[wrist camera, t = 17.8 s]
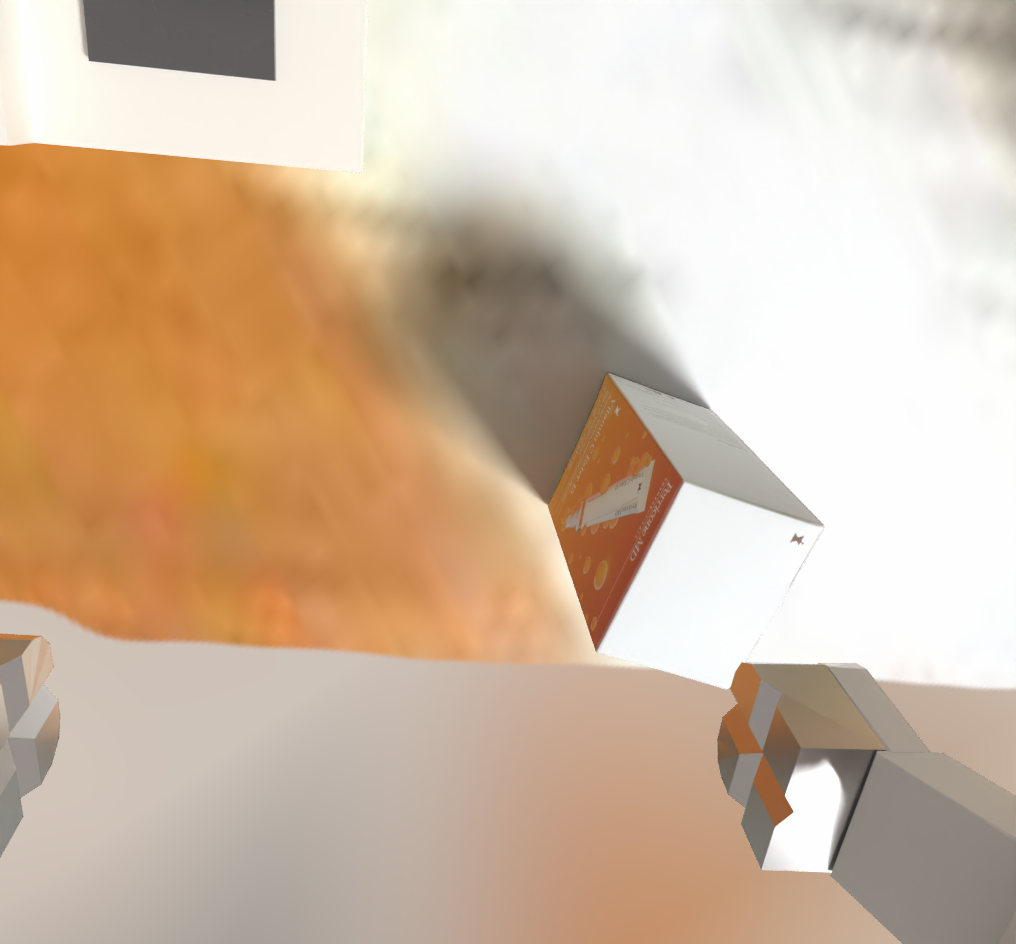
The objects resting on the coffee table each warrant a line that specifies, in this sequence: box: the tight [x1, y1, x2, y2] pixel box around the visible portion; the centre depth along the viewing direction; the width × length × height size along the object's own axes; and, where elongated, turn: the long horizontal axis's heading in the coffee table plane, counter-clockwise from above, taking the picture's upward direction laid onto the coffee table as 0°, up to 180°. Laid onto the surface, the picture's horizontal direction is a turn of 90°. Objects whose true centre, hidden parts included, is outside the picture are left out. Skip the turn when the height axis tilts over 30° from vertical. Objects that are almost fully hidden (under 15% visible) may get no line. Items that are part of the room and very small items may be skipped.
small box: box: [548, 373, 824, 689], centre depth 38 cm, size 8×6×13 cm
